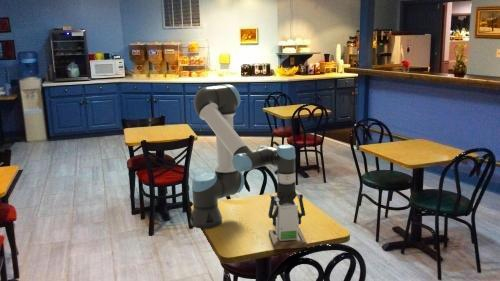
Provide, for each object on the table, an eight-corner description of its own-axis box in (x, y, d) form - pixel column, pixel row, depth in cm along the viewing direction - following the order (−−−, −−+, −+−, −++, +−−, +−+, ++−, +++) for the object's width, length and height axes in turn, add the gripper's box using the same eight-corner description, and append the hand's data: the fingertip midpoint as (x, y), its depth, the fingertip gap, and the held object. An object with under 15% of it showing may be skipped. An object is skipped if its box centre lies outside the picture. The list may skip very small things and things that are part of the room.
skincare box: (279, 241, 198) (278, 206, 195) (276, 235, 204) (275, 201, 201) (298, 239, 199) (298, 205, 196) (294, 233, 206) (294, 199, 202)
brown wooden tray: (273, 249, 194) (273, 244, 194) (268, 234, 209) (268, 229, 208) (306, 246, 196) (306, 242, 195) (299, 232, 210) (299, 227, 210)
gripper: (262, 185, 192) (263, 237, 197) (313, 183, 194) (312, 233, 199) (260, 180, 199) (261, 229, 204) (309, 177, 201) (309, 226, 206)
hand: (286, 231), depth 201 cm, fingers closed on skincare box, 8 cm apart
